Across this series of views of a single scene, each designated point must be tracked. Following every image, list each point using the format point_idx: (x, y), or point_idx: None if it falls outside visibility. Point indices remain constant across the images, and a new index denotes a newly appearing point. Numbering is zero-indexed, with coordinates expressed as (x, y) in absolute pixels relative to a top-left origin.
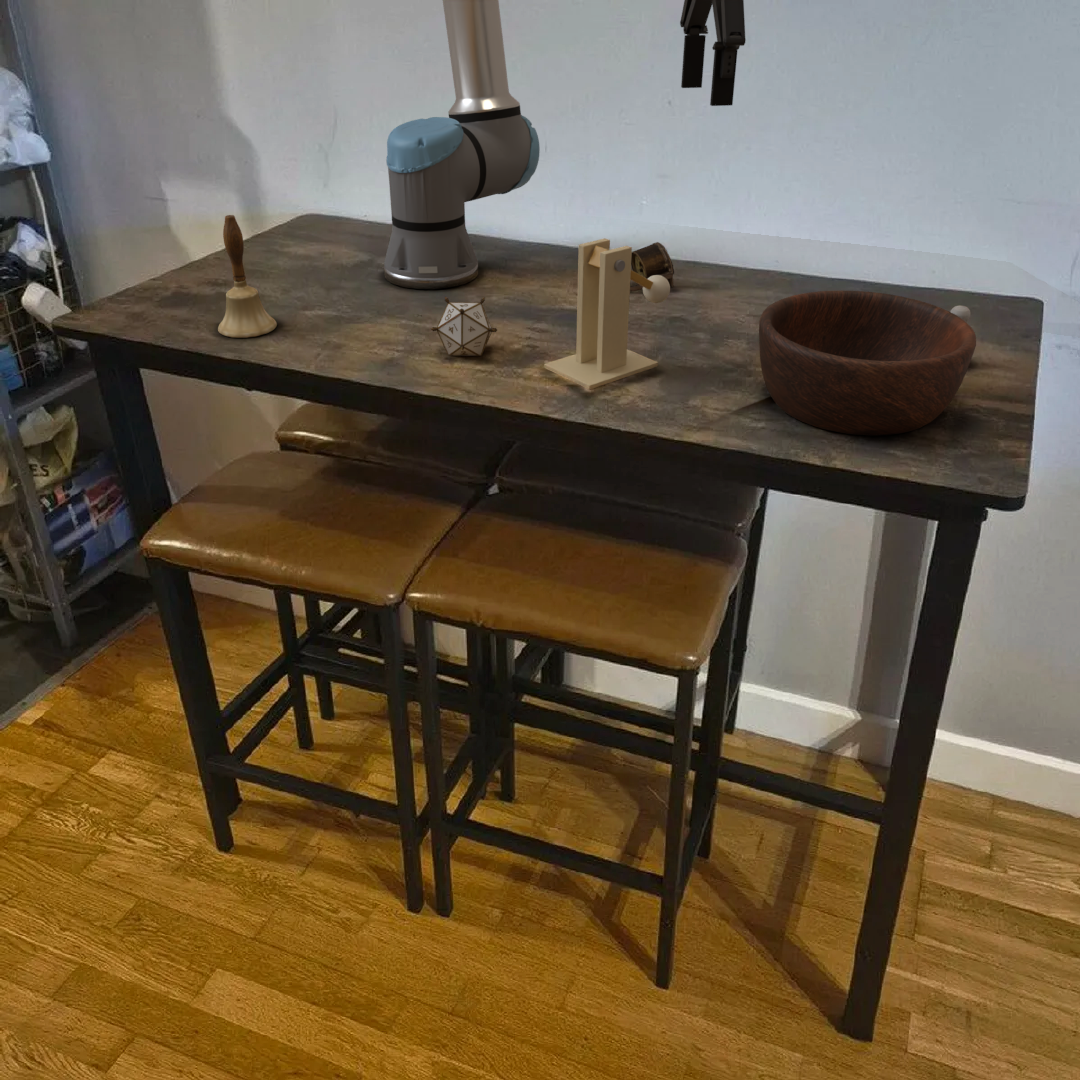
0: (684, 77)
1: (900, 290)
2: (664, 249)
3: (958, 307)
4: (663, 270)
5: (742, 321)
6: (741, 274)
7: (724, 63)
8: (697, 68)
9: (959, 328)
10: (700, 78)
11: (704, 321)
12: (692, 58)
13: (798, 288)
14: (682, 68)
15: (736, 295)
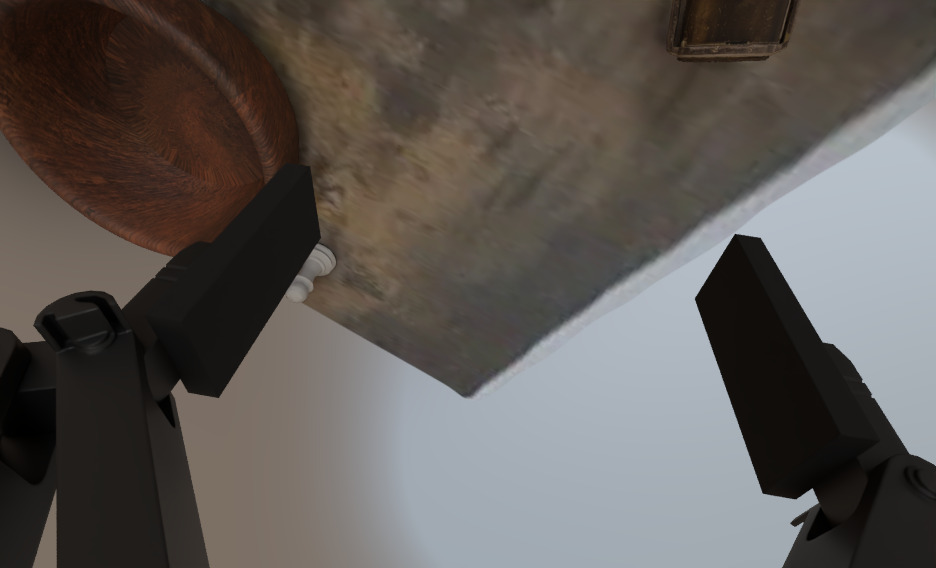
0: (748, 267)
1: (531, 328)
2: (710, 53)
3: (291, 294)
4: (682, 34)
5: (493, 105)
6: (685, 202)
7: (149, 287)
8: (727, 337)
9: (160, 243)
10: (708, 318)
11: (511, 42)
12: (757, 354)
13: (588, 241)
14: (792, 292)
15: (602, 150)
